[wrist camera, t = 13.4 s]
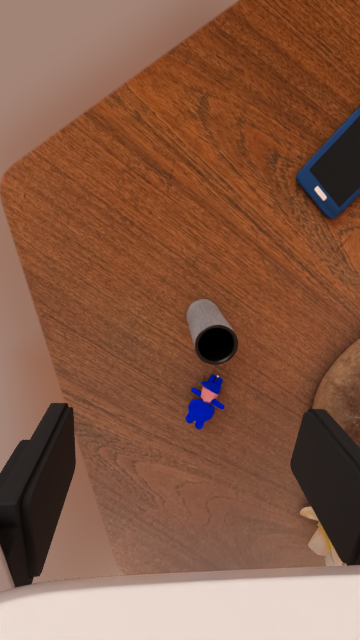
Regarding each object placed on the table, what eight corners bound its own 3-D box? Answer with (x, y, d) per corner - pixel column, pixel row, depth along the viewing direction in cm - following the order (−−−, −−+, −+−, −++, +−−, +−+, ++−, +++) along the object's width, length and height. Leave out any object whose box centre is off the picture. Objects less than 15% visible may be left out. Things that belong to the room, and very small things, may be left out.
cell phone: (292, 177, 33) (295, 176, 32) (389, 73, 30) (394, 70, 30) (329, 221, 35) (332, 221, 34) (423, 127, 32) (429, 125, 32)
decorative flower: (397, 505, 50) (434, 575, 42) (347, 528, 56) (371, 595, 47) (335, 470, 48) (361, 536, 39) (289, 497, 53) (302, 561, 45)
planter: (183, 302, 37) (191, 329, 28) (216, 295, 37) (235, 320, 28) (189, 332, 39) (198, 369, 29) (221, 326, 39) (240, 360, 29)
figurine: (182, 408, 43) (184, 430, 38) (197, 366, 41) (201, 383, 36) (211, 414, 44) (216, 436, 39) (227, 373, 41) (234, 391, 37)
